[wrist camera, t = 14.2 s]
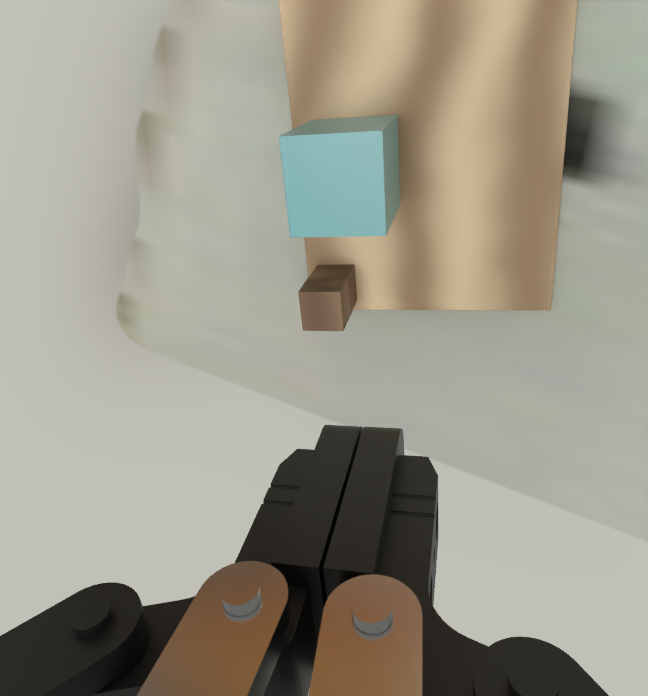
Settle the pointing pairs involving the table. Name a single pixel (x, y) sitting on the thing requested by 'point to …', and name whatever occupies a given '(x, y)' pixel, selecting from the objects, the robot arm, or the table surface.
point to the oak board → (446, 140)
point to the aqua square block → (341, 176)
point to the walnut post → (328, 297)
